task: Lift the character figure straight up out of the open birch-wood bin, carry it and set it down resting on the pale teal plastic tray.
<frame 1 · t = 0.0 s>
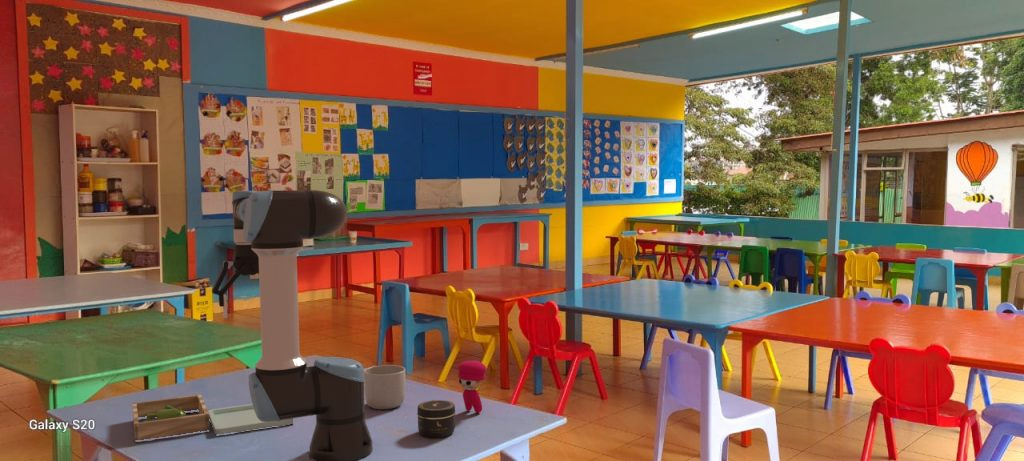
hand: (249, 315, 223), 28 cm above the table, fingers open, 13 cm apart
tray: (249, 420, 213), on the table
toy: (472, 412, 219), on the table
planter: (385, 406, 226), on the table
jar: (436, 434, 201), on the table
bin: (170, 426, 209), on the table
character figure: (170, 427, 209), resting in bin
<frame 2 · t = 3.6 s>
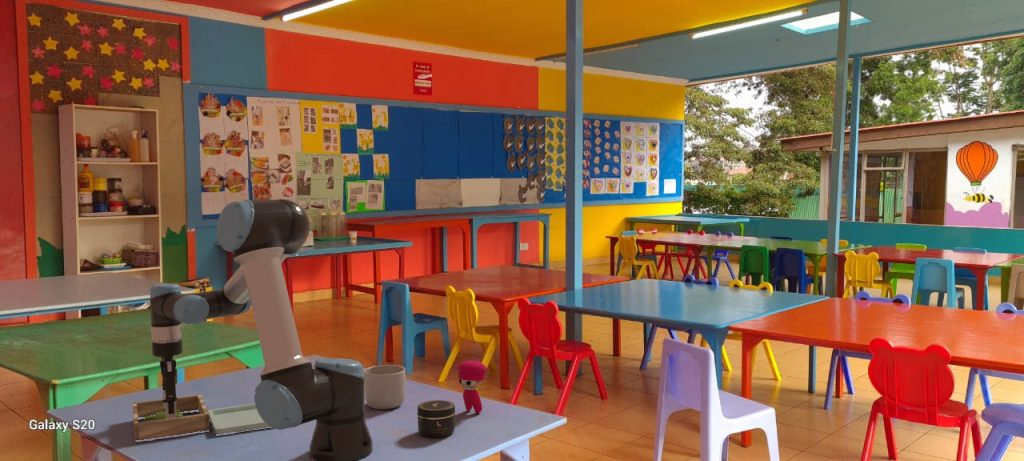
hand: (170, 419, 209), 2 cm above the table, fingers open, 11 cm apart
character figure: (168, 430, 207), resting in bin, touching gripper
everything else where it was.
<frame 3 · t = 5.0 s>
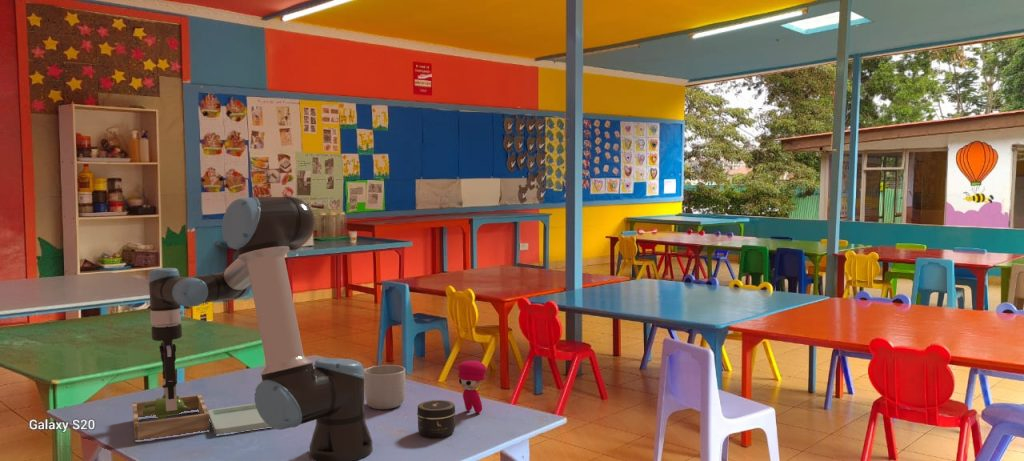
hand: (170, 406, 209), 6 cm above the table, fingers closed on character figure, 8 cm apart
character figure: (168, 416, 207), point 3 cm above the table, touching gripper
everything else where it was.
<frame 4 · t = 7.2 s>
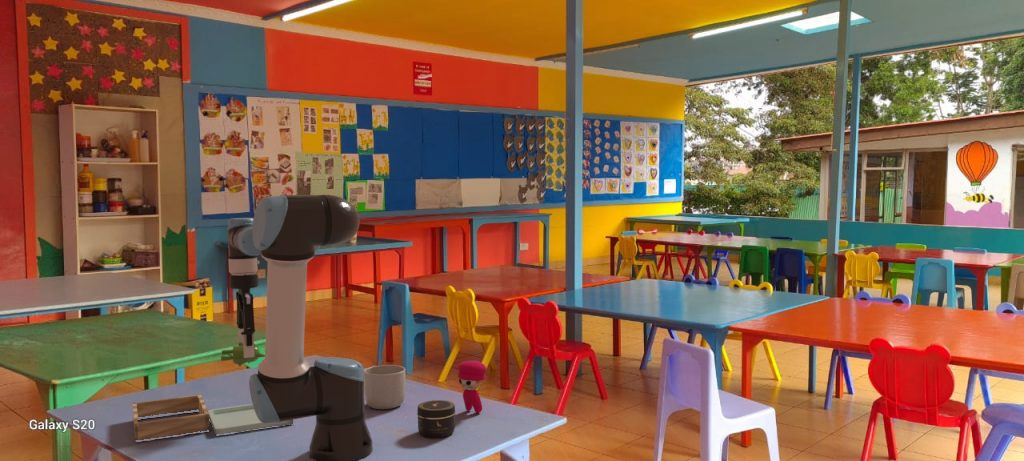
hand: (246, 354, 212), 19 cm above the table, fingers closed on character figure, 8 cm apart
character figure: (245, 363, 211), point 17 cm above the table, touching gripper
everything else where it was.
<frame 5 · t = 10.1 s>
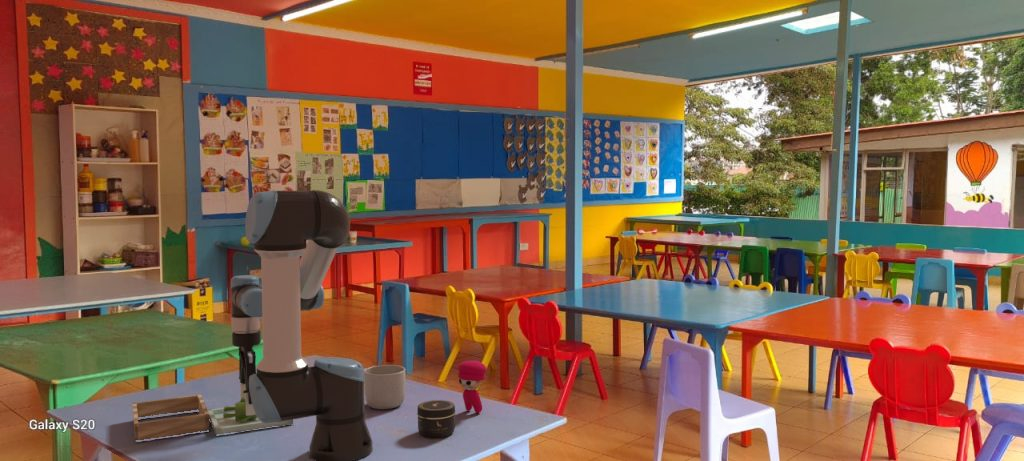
hand: (248, 410, 213), 3 cm above the table, fingers closed on character figure, 8 cm apart
character figure: (247, 420, 212), point 1 cm above the table, touching gripper, tray
everything else where it was.
when the fingers open (3 cm above the table, at t = 10.3 s): character figure moves 1 cm, resting on tray.
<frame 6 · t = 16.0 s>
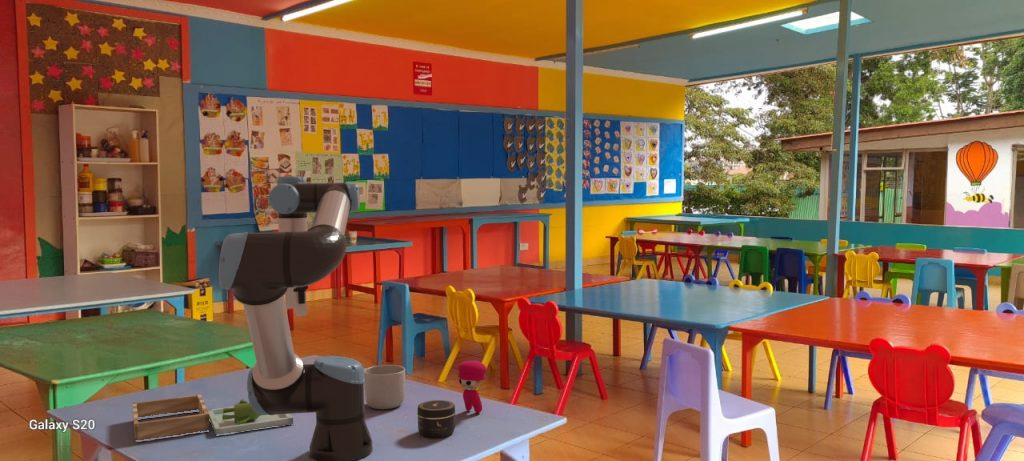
hand: (295, 312, 205), 32 cm above the table, fingers open, 13 cm apart
character figure: (246, 421, 210), point 1 cm above the table, touching tray
everything else where it was.
at the end: character figure inside the target area on the tray (2.8 cm from its centre), point 0.6 cm above the tray's base; the gripper is holding nothing; character figure moved 20.6 cm from its start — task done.
